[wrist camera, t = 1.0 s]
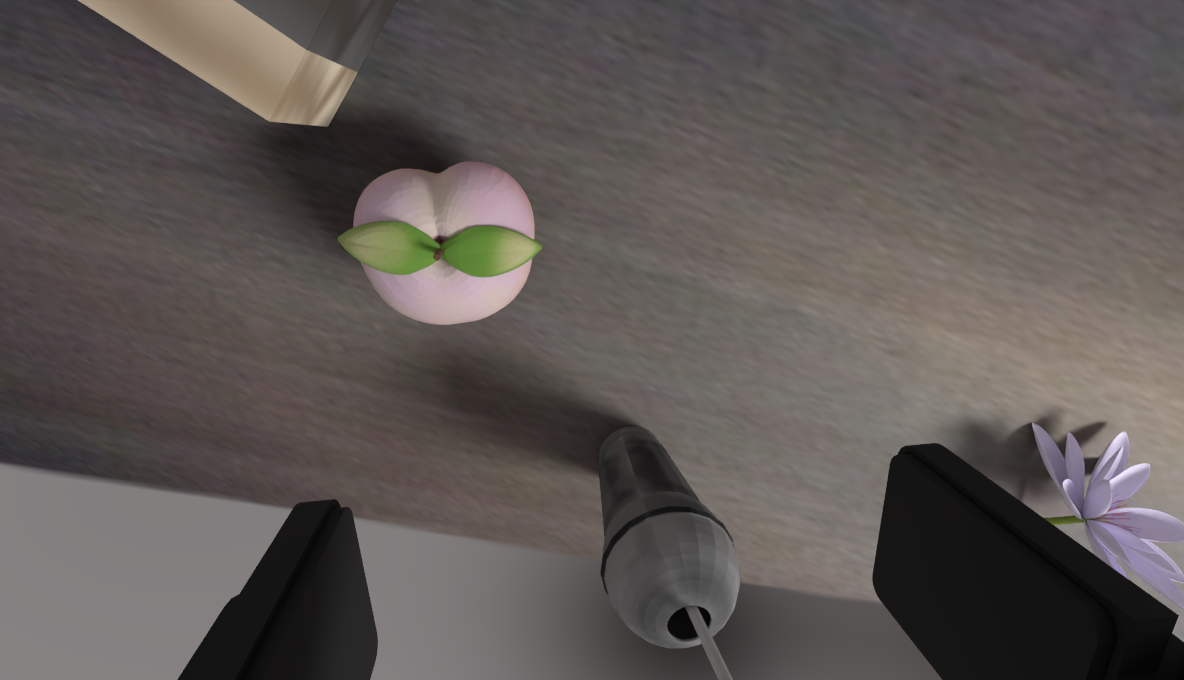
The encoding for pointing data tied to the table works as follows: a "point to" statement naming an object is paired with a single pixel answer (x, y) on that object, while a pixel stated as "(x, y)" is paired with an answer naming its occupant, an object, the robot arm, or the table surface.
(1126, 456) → the water lily
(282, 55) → the band block
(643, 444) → the beverage cup
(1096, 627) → the robot arm
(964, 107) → the table surface
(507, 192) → the decorative fruit
